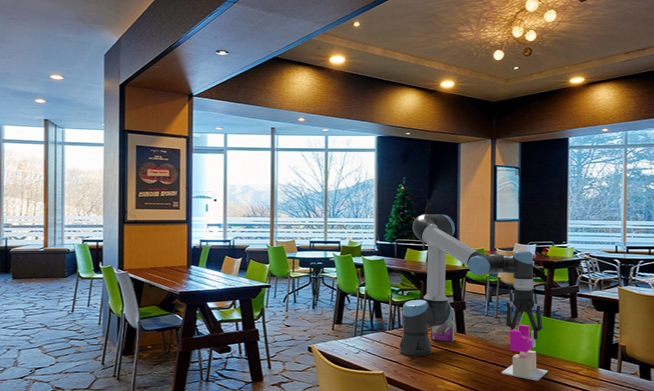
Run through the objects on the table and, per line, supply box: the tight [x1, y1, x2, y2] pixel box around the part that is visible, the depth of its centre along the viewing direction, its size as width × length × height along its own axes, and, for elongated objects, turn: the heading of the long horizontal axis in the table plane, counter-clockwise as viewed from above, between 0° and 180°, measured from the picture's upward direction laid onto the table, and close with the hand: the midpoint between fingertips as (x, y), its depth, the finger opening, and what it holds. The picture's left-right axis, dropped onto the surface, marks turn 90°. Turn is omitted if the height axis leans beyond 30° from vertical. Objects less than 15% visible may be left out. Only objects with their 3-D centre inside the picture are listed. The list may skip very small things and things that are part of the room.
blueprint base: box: [501, 349, 549, 381], centre depth 202 cm, size 14×14×8 cm
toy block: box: [509, 324, 533, 353], centre depth 201 cm, size 15×6×8 cm, turn 144°
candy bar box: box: [430, 307, 455, 343], centre depth 256 cm, size 11×5×16 cm, turn 66°
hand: (524, 345), depth 202 cm, fingers closed on toy block, 6 cm apart
